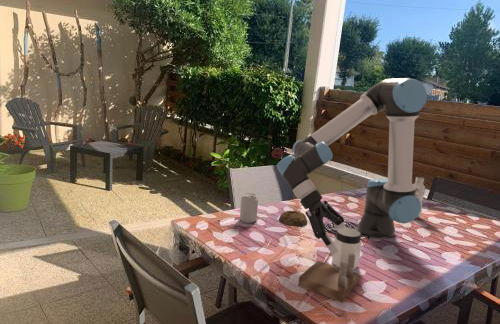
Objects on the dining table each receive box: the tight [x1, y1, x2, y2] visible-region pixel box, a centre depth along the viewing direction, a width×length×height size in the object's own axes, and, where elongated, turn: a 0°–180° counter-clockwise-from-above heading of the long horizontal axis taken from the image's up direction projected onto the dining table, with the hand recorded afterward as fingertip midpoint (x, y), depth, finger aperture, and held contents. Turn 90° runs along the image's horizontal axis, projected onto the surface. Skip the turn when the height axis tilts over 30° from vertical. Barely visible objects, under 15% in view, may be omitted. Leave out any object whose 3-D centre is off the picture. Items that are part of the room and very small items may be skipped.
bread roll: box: [278, 210, 308, 227], centre depth 170 cm, size 13×12×5 cm
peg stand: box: [298, 254, 360, 303], centre depth 116 cm, size 14×14×10 cm
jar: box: [331, 227, 363, 270], centre depth 129 cm, size 9×8×12 cm
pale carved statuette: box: [412, 176, 426, 219], centre depth 183 cm, size 6×7×20 cm
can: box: [239, 192, 259, 224], centre depth 166 cm, size 8×8×12 cm
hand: (343, 246), depth 129 cm, fingers open, 13 cm apart
